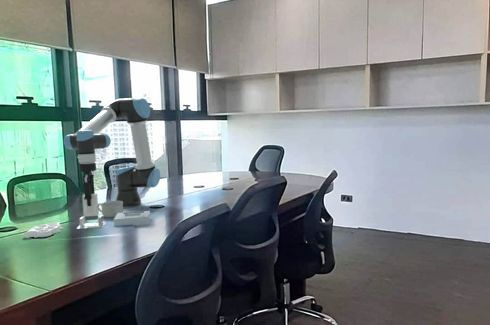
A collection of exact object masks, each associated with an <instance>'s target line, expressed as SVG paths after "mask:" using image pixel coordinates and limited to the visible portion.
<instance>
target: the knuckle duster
mask: <svg viewBox="0 0 490 325" xmlns="http://www.w3.org/2000/svg"><path fill="white" fill-rule="evenodd" d="M63 229H64V227H61V223H60V222H50V223H49V222H48V223H46V224H45V223H44V224H39V225H34V226H33V227H32V228H30V229H29V230H27V231H26V232H24V233H23V234H22V237H23V238H25V239H30V238H29V237H34V238H44V237H50V236H52V235H53V234H57V233H60V232H61V231H62V230H63Z"/></svg>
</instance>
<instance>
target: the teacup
mask: <svg viewBox="0 0 490 325" xmlns="http://www.w3.org/2000/svg"><path fill="white" fill-rule="evenodd" d="M100 206H101V208H100ZM98 212H100V213H101V215H103V218H104V217H105V218H107V219H108V218H109V219H110V218H111V219H112V218H113V219H114V218H115V216H116V215H117V213H124V206H123V202H122V201H116V200H109V201H104V202H102V203H100V202H98Z"/></svg>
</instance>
